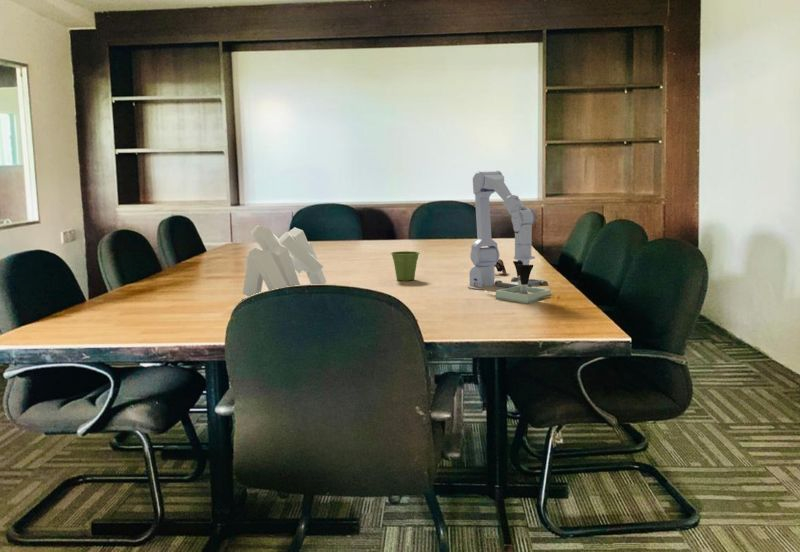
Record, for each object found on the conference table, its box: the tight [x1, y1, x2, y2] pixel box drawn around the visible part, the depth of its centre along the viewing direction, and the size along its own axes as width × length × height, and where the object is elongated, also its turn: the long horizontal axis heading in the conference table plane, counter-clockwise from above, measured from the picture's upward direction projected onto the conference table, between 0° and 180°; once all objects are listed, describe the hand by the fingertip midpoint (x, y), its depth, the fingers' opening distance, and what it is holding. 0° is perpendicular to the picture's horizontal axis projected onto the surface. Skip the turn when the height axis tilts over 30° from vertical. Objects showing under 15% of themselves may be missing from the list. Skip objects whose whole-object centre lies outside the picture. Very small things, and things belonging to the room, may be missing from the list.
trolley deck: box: [494, 276, 549, 288], centre depth 279 cm, size 15×15×3 cm
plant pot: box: [390, 250, 420, 282], centre depth 305 cm, size 12×12×11 cm
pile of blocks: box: [242, 224, 327, 297], centre depth 271 cm, size 35×30×35 cm
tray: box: [495, 286, 552, 305], centre depth 259 cm, size 14×14×3 cm
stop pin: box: [517, 275, 529, 294], centre depth 260 cm, size 3×3×7 cm
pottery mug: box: [494, 258, 507, 277], centre depth 316 cm, size 12×10×8 cm
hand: (522, 282), depth 260 cm, fingers open, 7 cm apart
